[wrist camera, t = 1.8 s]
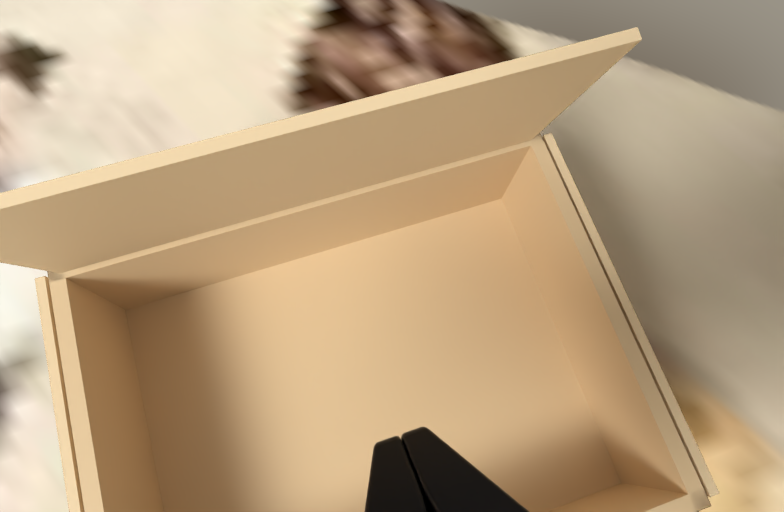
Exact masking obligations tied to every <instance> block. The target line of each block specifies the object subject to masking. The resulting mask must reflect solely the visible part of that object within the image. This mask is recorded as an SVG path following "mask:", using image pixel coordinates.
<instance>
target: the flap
mask: <svg viewBox="0 0 784 512" xmlns="http://www.w3.org/2000/svg"><path fill="white" fill-rule="evenodd" d="M641 40H642V38H641V35H640V33H639V30H638V28H637V27H636V28H633V29H629V30H624V31H621V32H617V33H613V34H609V35H605V36H601V37H598V38H594V39H590V40H586V41H582V42H578V43H575V44H571V45H567V46H563V47H559V48H555V49H552V50H548V51H544V52H540V53H536V54H532V55H529V56H525V57H521V58H517V59H513V60H509V61H505V62H502V63H498V64H494V65H490V66H486V67H482V68H479V69H475V70H471V71H467V72H463V73H459V74H456V75H452V76H448V77H444V78H440V79H436V80H433V81H429V82H425V83H421V84H417V85H413V86H410V87H406V88H402V89H398V90H394V91H390V92H386V93H383V94H379V95H375V96H371V97H367V98H363V99H360V100H356V101H352V102H348V103H344V104H340V105H337V106H333V107H329V108H325V109H321V110H317V111H314V112H310V113H306V114H302V115H298V116H294V117H291V118H287V119H283V120H279V121H275V122H271V123H268V124H264V125H260V126H256V127H252V128H248V129H244V130H241V131H237V132H233V133H229V134H225V135H221V136H218V137H214V138H210V139H206V140H202V141H198V142H195V143H191V144H187V145H183V146H179V147H175V148H172V149H168V150H164V151H160V152H156V153H152V154H149V155H145V156H141V157H137V158H133V159H129V160H125V161H122V162H118V163H114V164H110V165H106V166H102V167H99V168H95V169H91V170H87V171H83V172H79V173H76V174H72V175H68V176H64V177H60V178H56V179H53V180H49V181H45V182H41V183H37V184H33V185H30V186H26V187H22V188H18V189H14V190H10V191H6V192H3V193H0V262H1V263H6V264H12V265H18V266H23V267H29V268H34V269H40V270H45V271H51V272H56V273H63V272H67V271H70V270H74V269H77V268H81V267H84V266H88V265H91V264H95V263H98V262H102V261H106V260H109V259H113V258H116V257H120V256H123V255H127V254H130V253H134V252H137V251H141V250H144V249H148V248H151V247H155V246H159V245H162V244H166V243H169V242H173V241H176V240H180V239H183V238H187V237H190V236H194V235H197V234H201V233H204V232H208V231H212V230H215V229H219V228H222V227H226V226H229V225H233V224H236V223H240V222H243V221H247V220H250V219H254V218H258V217H261V216H265V215H268V214H272V213H275V212H279V211H282V210H286V209H289V208H293V207H296V206H300V205H303V204H307V203H311V202H314V201H318V200H321V199H325V198H328V197H332V196H335V195H339V194H342V193H346V192H349V191H353V190H356V189H360V188H364V187H367V186H371V185H374V184H378V183H381V182H385V181H388V180H392V179H395V178H399V177H402V176H406V175H410V174H413V173H417V172H420V171H424V170H427V169H431V168H434V167H438V166H441V165H445V164H448V163H452V162H455V161H459V160H463V159H466V158H470V157H473V156H477V155H480V154H484V153H487V152H491V151H494V150H498V149H501V148H505V147H508V146H512V145H516V144H519V143H523V142H526V141H530V140H532V139H533V138H534V137H535V136H536V135H538V134H539V133H540V132H541V131H542V130H543V129H544V128H545V127H546V126H547V125H549V124H550V123H551V122H552V121H553V120H554V119H555V118H556V117H557V116H558V115H560V114H561V113H562V112H563V111H564V110H565V109H566V108H567V107H568V106H569V105H571V104H572V103H573V102H574V101H575V100H576V99H577V98H578V97H579V96H580V95H582V94H583V93H584V92H585V91H586V90H587V89H588V88H589V87H590V86H591V85H593V84H594V83H595V82H596V81H597V80H598V79H599V78H600V77H601V76H602V75H604V74H605V73H606V72H607V71H608V70H609V69H610V68H611V67H612V66H613V65H615V64H616V63H617V62H618V61H619V60H620V59H621V58H622V57H623V56H624V55H626V54H627V52H629V51H630V50H631V49H632V48H633V47H634V46H635V45H636V44H638V43H639V42H640V41H641Z"/></svg>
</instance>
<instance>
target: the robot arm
mask: <svg viewBox="0 0 784 512" xmlns="http://www.w3.org/2000/svg"><path fill="white" fill-rule="evenodd" d="M364 512H529V511H528V510H527V509H526V508H524V507H523V506H522V505H521V504H520V503H518V502H517V501H516V500H515V499H513V498H512V497H511V496H510V495H509V494H507V493H506V492H505V491H504V490H503V489H501V488H500V487H499V486H498V485H496V484H495V483H494V482H493V481H492V480H490V479H489V478H488V477H487V476H486V475H484V474H483V473H482V472H481V471H479V470H478V469H477V468H476V467H475V466H473V465H472V464H471V463H470V462H469V461H467V460H466V459H465V458H464V457H462V456H461V455H460V454H459V453H458V452H456V451H455V450H454V449H453V448H451V447H450V446H449V445H448V444H447V443H445V442H444V441H443V440H442V439H441V438H439V437H438V436H437V435H436V434H434V433H433V432H432V431H431V430H430V429H428V428H427V427H419V428H416V429H413V430H411V431H408V432H405V433H403V434H402V436H401V438H400V437H399V436H393V437H390V438H388V439H385V440H382V441H379V442H377V443H376V444H375V445H374V448H373V455H372V462H371V469H370V476H369V483H368V490H367V497H366V504H365V511H364Z"/></svg>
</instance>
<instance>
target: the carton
mask: <svg viewBox="0 0 784 512" xmlns="http://www.w3.org/2000/svg"><path fill="white" fill-rule="evenodd" d="M47 272H48V277H46V276H43V277H39V278H36V279H35V284H36V291H37V297H38V304H39V311H40V318H41V325H42V331H43V338H44V345H45V352H46V358H47V365H48V372H49V379H50V386H51V392H52V399H53V406H54V413H55V420H56V426H57V433H58V440H59V447H60V454H61V460H62V467H63V474H64V481H65V488H66V494H67V501H68V508H69V512H364V511H365V504H366V497H367V490H368V483H369V476H370V469H371V462H372V455H373V448H374V445H375V444H376V443H377V442H379V441H382V440H385V439H388V438H390V437H393V436H399V437H400V438H401V436H402V434H403V433H405V432H408V431H411V430H413V429H416V428H419V427H427V428H428V429H430V430H431V431H432V432H433V433H434V434H436V435H437V436H438V437H439V438H441V439H442V440H443V441H444V442H445V443H447V444H448V445H449V446H450V447H451V448H453V449H454V450H455V451H456V452H458V453H459V454H460V455H461V456H462V457H464V458H465V459H466V460H467V461H469V462H470V463H471V464H472V465H473V466H475V467H476V468H477V469H478V470H479V471H481V472H482V473H483V474H484V475H486V476H487V477H488V478H489V479H490V480H492V481H493V482H494V483H495V484H496V485H498V486H499V487H500V488H501V489H503V490H504V491H505V492H506V493H507V494H509V495H510V496H511V497H512V498H513V499H515V500H516V501H517V502H518V503H520V504H521V505H522V506H523V507H524V508H526V509H527V510H528V511H529V512H698V511H700V510H703V509H705V508H708V507H710V506H711V504H710V501H709V499H708V497H707V496H709V497H712V496H714V495H717V494H719V491H718V489H717V486H716V484H715V482H714V480H713V478H712V476H711V474H710V471H709V469H708V467H707V465H706V463H705V461H704V459H703V456H702V454H701V452H700V450H699V448H698V446H697V444H696V441H695V439H694V437H693V435H692V433H691V431H690V429H689V426H688V424H687V422H686V420H685V418H684V416H683V414H682V411H681V409H680V407H679V405H678V403H677V401H676V399H675V396H674V394H673V392H672V390H671V388H670V386H669V384H668V382H667V379H666V377H665V375H664V373H663V371H662V369H661V367H660V364H659V362H658V360H657V358H656V356H655V354H654V352H653V349H652V347H651V345H650V343H649V341H648V339H647V337H646V334H645V332H644V330H643V328H642V326H641V324H640V322H639V319H638V317H637V315H636V313H635V311H634V309H633V307H632V304H631V302H630V300H629V298H628V296H627V294H626V292H625V289H624V287H623V285H622V283H621V281H620V279H619V277H618V274H617V272H616V270H615V268H614V266H613V264H612V262H611V259H610V257H609V255H608V253H607V251H606V249H605V247H604V244H603V242H602V240H601V238H600V236H599V234H598V232H597V229H596V227H595V225H594V223H593V221H592V219H591V217H590V214H589V212H588V210H587V208H586V206H585V204H584V202H583V199H582V197H581V195H580V193H579V191H578V189H577V187H576V184H575V182H574V180H573V178H572V176H571V174H570V172H569V169H568V167H567V165H566V163H565V161H564V159H563V157H562V154H561V152H560V150H559V148H558V146H557V144H556V142H555V139H554V137H553V135H552V133H549V134H545V135H543V137H542V136H541V134H540V133H539V134H538V135H536V136H535V137H534V138H533V139H532V140H530V141H526V142H523V143H519V144H516V145H512V146H508V147H505V148H501V149H498V150H494V151H491V152H487V153H484V154H480V155H477V156H473V157H470V158H466V159H463V160H459V161H455V162H452V163H448V164H445V165H441V166H438V167H434V168H431V169H427V170H424V171H420V172H417V173H413V174H410V175H406V176H402V177H399V178H395V179H392V180H388V181H385V182H381V183H378V184H374V185H371V186H367V187H364V188H360V189H356V190H353V191H349V192H346V193H342V194H339V195H335V196H332V197H328V198H325V199H321V200H318V201H314V202H311V203H307V204H303V205H300V206H296V207H293V208H289V209H286V210H282V211H279V212H275V213H272V214H268V215H265V216H261V217H258V218H254V219H250V220H247V221H243V222H240V223H236V224H233V225H229V226H226V227H222V228H219V229H215V230H212V231H208V232H204V233H201V234H197V235H194V236H190V237H187V238H183V239H180V240H176V241H173V242H169V243H166V244H162V245H159V246H155V247H151V248H148V249H144V250H141V251H137V252H134V253H130V254H127V255H123V256H120V257H116V258H113V259H109V260H106V261H102V262H98V263H95V264H91V265H88V266H84V267H81V268H77V269H74V270H70V271H67V272H63V273H56V272H51V271H47Z"/></svg>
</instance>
